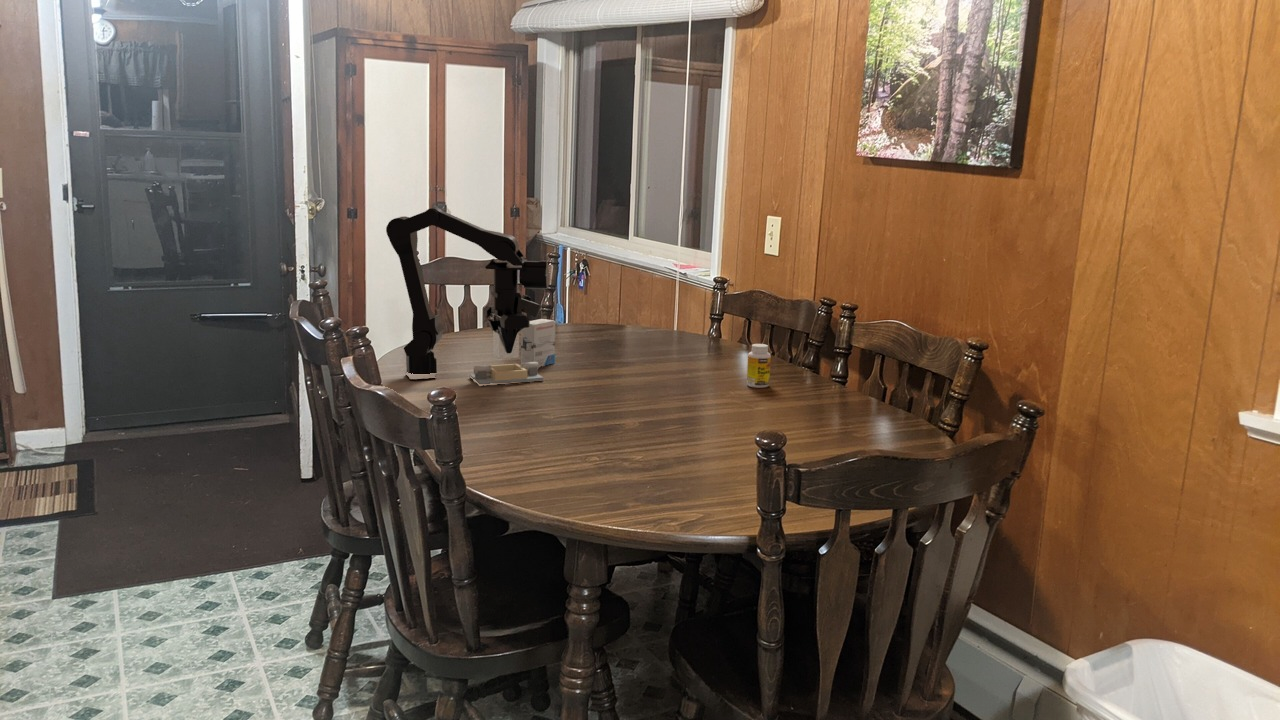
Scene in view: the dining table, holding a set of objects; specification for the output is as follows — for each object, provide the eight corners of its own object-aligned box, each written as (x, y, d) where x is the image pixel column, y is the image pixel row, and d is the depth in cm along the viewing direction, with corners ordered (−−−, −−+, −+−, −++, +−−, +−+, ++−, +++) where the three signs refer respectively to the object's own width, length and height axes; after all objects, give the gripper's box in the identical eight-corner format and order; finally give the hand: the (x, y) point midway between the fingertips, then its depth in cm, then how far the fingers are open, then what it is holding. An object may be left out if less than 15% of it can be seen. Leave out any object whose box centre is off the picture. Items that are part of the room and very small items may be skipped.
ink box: (542, 361, 268) (542, 318, 266) (556, 363, 265) (556, 320, 263) (519, 366, 261) (519, 322, 259) (534, 369, 258) (534, 324, 256)
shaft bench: (480, 386, 239) (479, 370, 238) (469, 378, 247) (469, 362, 246) (543, 381, 245) (543, 365, 244) (531, 373, 253) (531, 358, 252)
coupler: (519, 357, 244) (519, 330, 242) (499, 358, 241) (499, 331, 240) (512, 353, 248) (512, 327, 247) (493, 354, 246) (493, 328, 244)
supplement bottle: (756, 389, 242) (758, 348, 240) (741, 384, 247) (743, 344, 245) (773, 386, 245) (776, 346, 243) (759, 382, 250) (761, 342, 248)
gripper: (550, 292, 236) (549, 356, 240) (525, 281, 253) (524, 342, 256) (505, 293, 232) (505, 359, 235) (482, 283, 248) (482, 344, 251)
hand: (505, 351), depth 244 cm, fingers closed on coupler, 5 cm apart
